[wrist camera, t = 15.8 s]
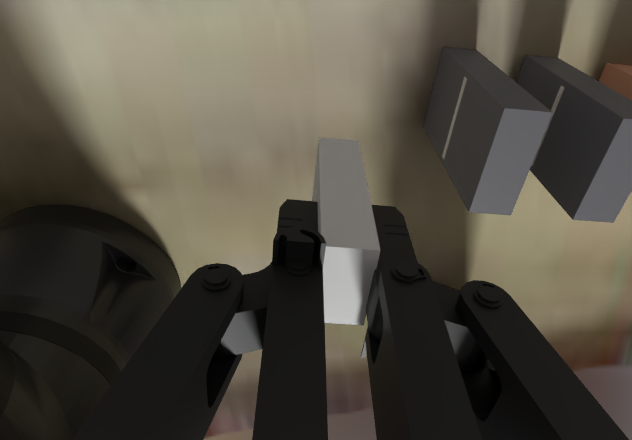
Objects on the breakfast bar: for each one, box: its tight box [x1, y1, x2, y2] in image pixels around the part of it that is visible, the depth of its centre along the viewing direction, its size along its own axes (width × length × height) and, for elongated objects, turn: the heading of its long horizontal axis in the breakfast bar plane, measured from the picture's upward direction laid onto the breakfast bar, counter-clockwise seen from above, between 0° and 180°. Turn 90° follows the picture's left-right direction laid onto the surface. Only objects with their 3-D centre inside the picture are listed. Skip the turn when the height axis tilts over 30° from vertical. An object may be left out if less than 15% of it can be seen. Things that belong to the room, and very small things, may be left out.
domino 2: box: [516, 55, 632, 223], centre depth 24 cm, size 2×5×10 cm, turn 174°
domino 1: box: [423, 47, 553, 215], centre depth 24 cm, size 2×5×10 cm, turn 174°
